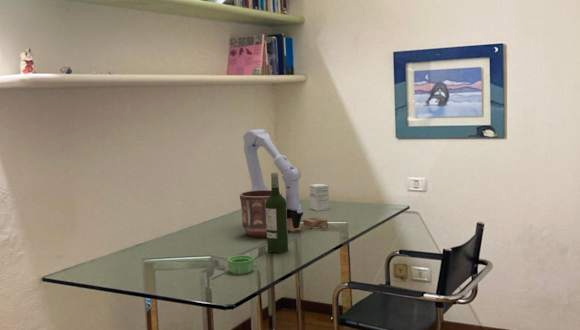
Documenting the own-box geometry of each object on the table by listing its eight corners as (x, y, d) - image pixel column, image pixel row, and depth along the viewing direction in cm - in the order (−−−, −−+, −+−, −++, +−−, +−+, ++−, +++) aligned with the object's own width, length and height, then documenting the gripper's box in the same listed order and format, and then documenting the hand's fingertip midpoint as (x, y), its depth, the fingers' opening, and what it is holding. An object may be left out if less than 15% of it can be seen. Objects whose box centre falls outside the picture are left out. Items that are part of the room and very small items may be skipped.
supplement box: (310, 208, 318) (309, 184, 316) (322, 207, 321) (321, 183, 319) (316, 211, 311) (315, 186, 310) (329, 209, 314) (328, 184, 313)
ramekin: (222, 272, 209) (221, 259, 209) (240, 266, 216) (239, 253, 216) (242, 276, 204) (241, 263, 203) (259, 269, 211) (259, 257, 210)
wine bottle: (263, 251, 235) (259, 173, 231) (278, 247, 240) (274, 171, 237) (277, 254, 229) (273, 174, 226) (292, 250, 235) (289, 172, 231)
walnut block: (311, 229, 270) (311, 222, 270) (303, 226, 277) (303, 219, 277) (327, 227, 273) (327, 219, 273) (318, 224, 281) (318, 217, 280)
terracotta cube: (291, 231, 267) (290, 220, 267) (287, 229, 271) (286, 218, 271) (300, 230, 269) (300, 219, 268) (296, 228, 273) (295, 217, 272)
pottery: (246, 241, 252) (244, 197, 250) (238, 232, 269) (236, 191, 267) (287, 237, 257) (286, 194, 255) (277, 228, 274) (275, 188, 272)
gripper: (307, 197, 263) (309, 228, 265) (294, 193, 277) (295, 222, 278) (292, 199, 261) (294, 230, 262) (279, 194, 274) (280, 224, 275)
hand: (293, 226), depth 270 cm, fingers open, 5 cm apart
